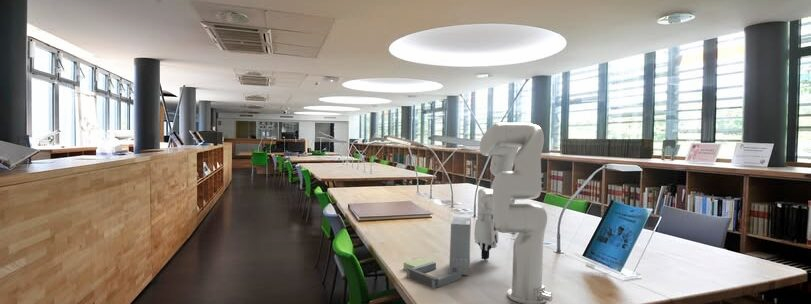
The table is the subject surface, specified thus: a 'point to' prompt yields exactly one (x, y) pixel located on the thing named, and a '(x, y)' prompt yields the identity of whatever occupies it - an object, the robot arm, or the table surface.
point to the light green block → (416, 263)
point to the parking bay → (434, 282)
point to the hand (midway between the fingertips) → (485, 258)
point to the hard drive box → (460, 245)
